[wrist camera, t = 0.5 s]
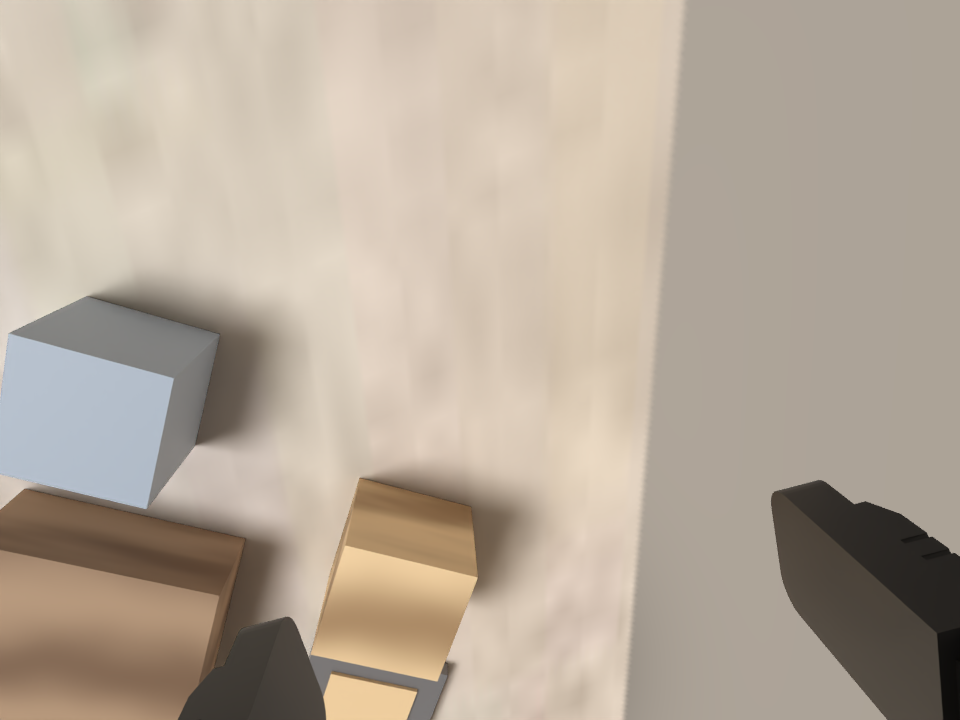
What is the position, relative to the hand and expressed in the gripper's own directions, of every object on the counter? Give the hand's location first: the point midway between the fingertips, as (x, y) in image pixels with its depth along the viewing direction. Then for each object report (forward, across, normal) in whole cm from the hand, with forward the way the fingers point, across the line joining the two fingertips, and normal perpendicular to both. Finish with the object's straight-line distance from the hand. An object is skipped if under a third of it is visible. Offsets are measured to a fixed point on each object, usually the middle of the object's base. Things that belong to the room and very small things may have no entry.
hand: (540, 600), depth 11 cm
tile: (+21, +10, +18) cm, 29 cm away
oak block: (+20, +6, +9) cm, 23 cm away
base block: (+20, +20, +9) cm, 30 cm away
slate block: (+20, +14, -2) cm, 24 cm away
